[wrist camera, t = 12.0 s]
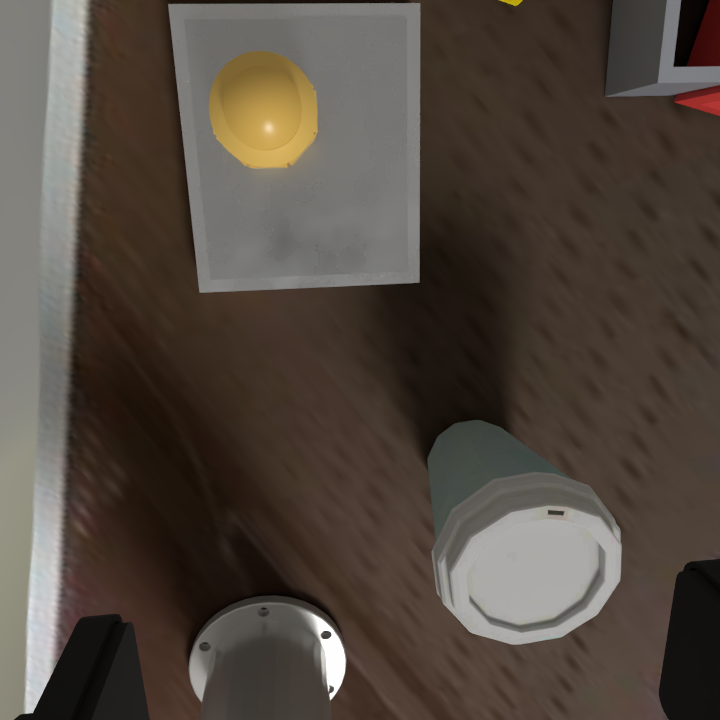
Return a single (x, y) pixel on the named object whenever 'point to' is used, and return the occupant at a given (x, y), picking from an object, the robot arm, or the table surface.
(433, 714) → the table surface
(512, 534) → the disposable coffee cup
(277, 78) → the wire nut
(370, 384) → the table surface
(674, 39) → the parts corral
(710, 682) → the robot arm
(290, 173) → the plate
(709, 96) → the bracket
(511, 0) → the watch
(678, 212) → the table surface
